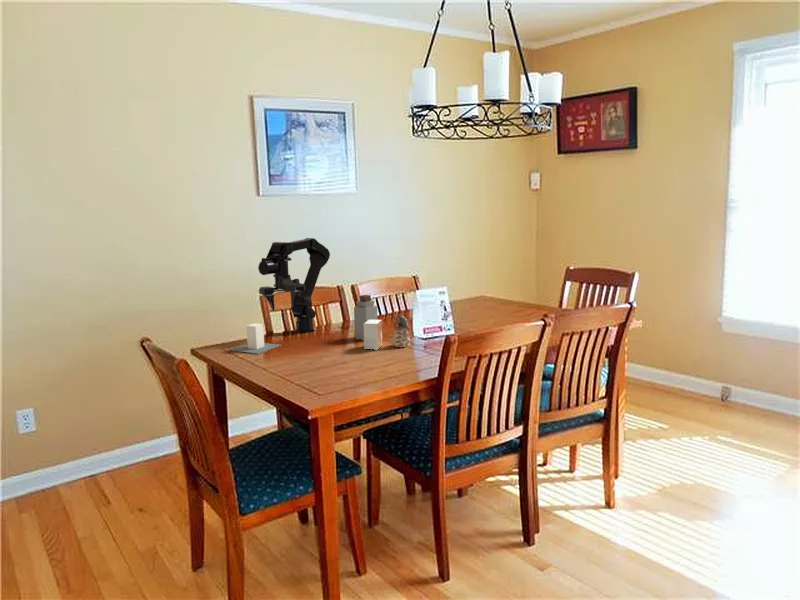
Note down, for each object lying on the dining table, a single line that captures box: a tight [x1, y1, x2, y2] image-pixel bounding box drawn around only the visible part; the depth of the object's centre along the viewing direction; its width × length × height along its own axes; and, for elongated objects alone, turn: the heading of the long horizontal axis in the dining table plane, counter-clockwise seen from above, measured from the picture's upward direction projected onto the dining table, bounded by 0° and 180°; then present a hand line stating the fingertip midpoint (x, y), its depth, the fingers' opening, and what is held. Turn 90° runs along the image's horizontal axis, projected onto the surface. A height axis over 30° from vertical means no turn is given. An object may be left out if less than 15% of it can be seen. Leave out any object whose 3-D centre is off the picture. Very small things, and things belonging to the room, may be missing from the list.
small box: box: [363, 319, 384, 351], centre depth 246 cm, size 8×6×10 cm
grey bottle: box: [353, 294, 379, 340], centre depth 261 cm, size 7×7×18 cm
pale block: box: [245, 323, 265, 349], centre depth 249 cm, size 4×4×9 cm
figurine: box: [392, 315, 412, 348], centre depth 248 cm, size 7×7×12 cm
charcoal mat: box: [230, 342, 282, 355], centre depth 250 cm, size 14×14×1 cm
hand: (283, 309), depth 267 cm, fingers open, 9 cm apart
